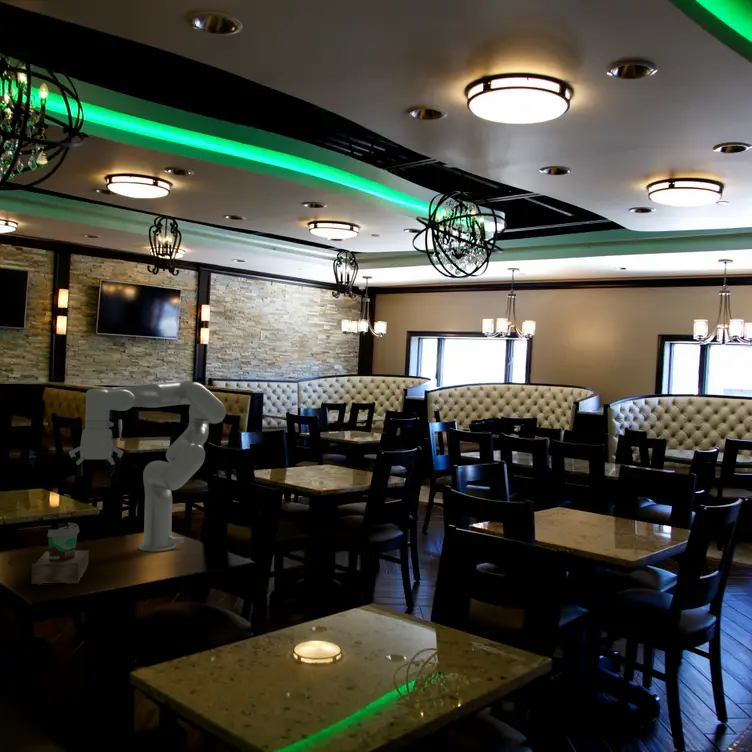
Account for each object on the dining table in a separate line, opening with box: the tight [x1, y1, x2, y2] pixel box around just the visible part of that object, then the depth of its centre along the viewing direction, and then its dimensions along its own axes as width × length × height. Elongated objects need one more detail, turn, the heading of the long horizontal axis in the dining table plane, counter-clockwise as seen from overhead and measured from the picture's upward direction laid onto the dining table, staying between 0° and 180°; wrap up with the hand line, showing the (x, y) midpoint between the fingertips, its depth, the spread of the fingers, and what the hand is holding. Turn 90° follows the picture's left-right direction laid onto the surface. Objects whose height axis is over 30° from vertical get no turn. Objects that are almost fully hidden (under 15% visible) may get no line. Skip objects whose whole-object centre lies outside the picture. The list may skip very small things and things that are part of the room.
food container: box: [46, 522, 80, 562], centre depth 229 cm, size 12×6×10 cm, turn 173°
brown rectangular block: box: [30, 550, 90, 585], centre depth 228 cm, size 13×20×6 cm, turn 13°
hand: (95, 476), depth 247 cm, fingers open, 9 cm apart
